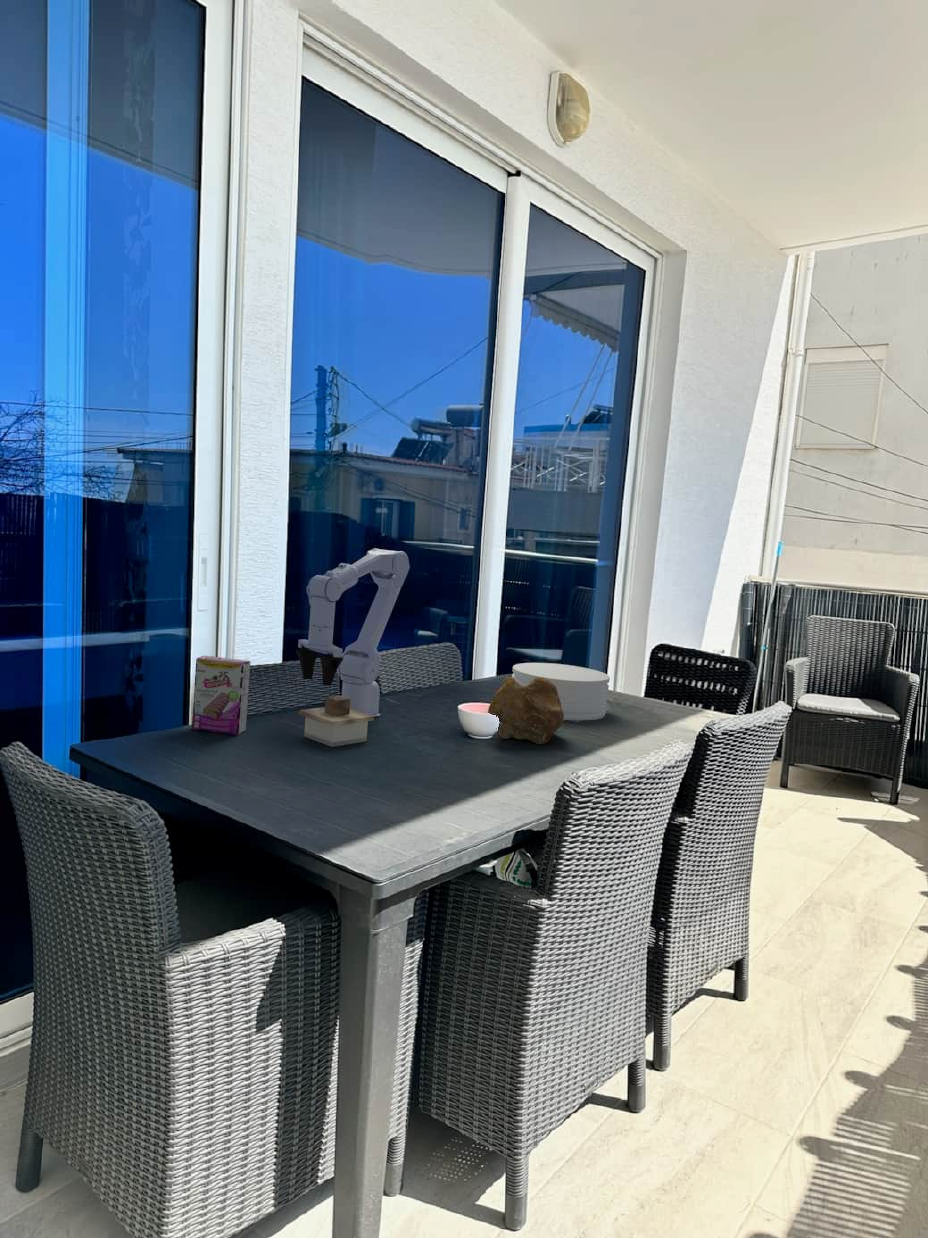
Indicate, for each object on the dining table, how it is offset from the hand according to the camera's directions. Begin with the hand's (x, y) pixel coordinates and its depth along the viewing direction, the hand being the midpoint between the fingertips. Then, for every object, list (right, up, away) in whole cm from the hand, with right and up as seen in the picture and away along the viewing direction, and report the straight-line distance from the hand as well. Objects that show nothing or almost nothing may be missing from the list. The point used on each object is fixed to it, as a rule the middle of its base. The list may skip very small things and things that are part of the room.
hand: (317, 682), depth 211 cm
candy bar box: (-20, -10, -12) cm, 26 cm away
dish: (+6, -12, -10) cm, 17 cm away
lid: (+6, -7, -11) cm, 15 cm away
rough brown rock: (+52, -15, +7) cm, 54 cm away
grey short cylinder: (+62, -12, +45) cm, 78 cm away
